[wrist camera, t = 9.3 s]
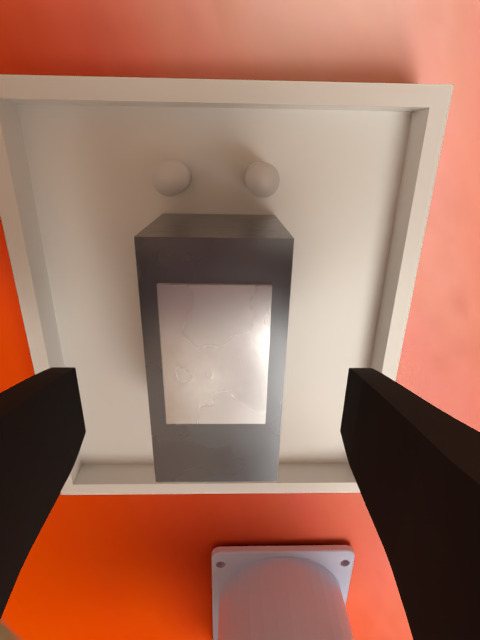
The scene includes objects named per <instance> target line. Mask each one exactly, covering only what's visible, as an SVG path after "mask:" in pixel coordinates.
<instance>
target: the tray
mask: <svg viewBox="0 0 480 640" xmlns="http://www.w3.org/2000/svg"><path fill="white" fill-rule="evenodd" d="M453 87H454V85H449V84H405V83H361V82H317V81H273V80H229V79H185V78H141V77H97V76H53V75H9V74H0V216H1V220H2V225H3V230H4V234H5V239H6V243H7V248H8V253H9V257H10V262H11V266H12V271H13V276H14V280H15V285H16V289H17V294H18V299H19V303H20V308H21V312H22V317H23V322H24V326H25V331H26V335H27V340H28V345H29V349H30V354H31V358H32V363H33V368H34V372H35V375H36V374H38V373H40V372H42V371H44V370H46V369H49V368H51V367H75V369H76V374H77V380H78V386H79V392H80V398H81V404H82V410H83V416H84V422H85V428H86V433H85V436H84V439H83V442H82V445H81V448H80V451H79V454H78V456H77V459H76V462H75V464H74V467H73V469H72V471H71V473H70V475H69V477H68V479H67V481H66V483H65V484H64V486H63V488H62V490H61V495H122V494H245V493H361V492H360V490H359V487H358V485H357V483H356V480H355V478H354V475H353V473H352V470H351V468H350V465H349V462H348V459H347V455H346V452H345V448H344V444H343V440H342V436H341V432H340V428H341V421H342V414H343V407H344V400H345V392H346V385H347V378H348V371H349V368H373V369H375V370H377V371H379V372H380V373H382V374H384V375H386V376H387V377H389V378H390V379H392V380H394V381H395V380H396V375H397V370H398V365H399V360H400V355H401V350H402V345H403V340H404V335H405V330H406V325H407V320H408V315H409V310H410V304H411V299H412V294H413V289H414V284H415V279H416V274H417V269H418V264H419V259H420V254H421V249H422V244H423V239H424V234H425V229H426V223H427V218H428V213H429V208H430V203H431V198H432V193H433V188H434V183H435V178H436V173H437V168H438V163H439V158H440V153H441V148H442V142H443V137H444V132H445V127H446V122H447V117H448V112H449V107H450V102H451V97H452V92H453ZM163 213H172V214H245V215H275V216H276V217H277V218H278V219H279V221H280V222H281V223H282V224H283V225H284V227H285V228H286V229H287V230H288V232H289V233H290V234H291V235H292V236H293V238H294V249H293V263H292V277H291V292H290V306H289V320H288V334H287V348H286V363H285V377H284V391H283V405H282V420H281V434H280V448H279V462H278V477H277V481H242V482H156V480H155V469H154V458H153V447H152V435H151V424H150V413H149V401H148V390H147V379H146V368H145V356H144V345H143V334H142V323H141V311H140V300H139V289H138V278H137V266H136V255H135V244H134V236H135V235H137V234H138V233H139V232H140V231H142V230H143V229H144V228H145V227H147V226H148V225H149V224H150V223H152V222H153V221H154V220H155V219H157V218H158V217H159V216H160V215H162V214H163Z"/></svg>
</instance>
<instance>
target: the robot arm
mask: <svg viewBox="0 0 480 640" xmlns="http://www.w3.org/2000/svg"><path fill="white" fill-rule="evenodd" d="M340 432H341V436H342V440H343V444H344V448H345V452H346V455H347V459H348V462H349V465H350V468H351V470H352V473H353V475H354V478H355V480H356V483H357V485H358V487H359V490H360V492H361V495H362V497H363V499H364V502H365V504H366V506H367V509H368V511H369V513H370V516H371V518H372V521H373V523H374V525H375V528H376V530H377V532H378V535H379V537H380V539H381V542H382V544H383V546H384V549H385V552H386V554H387V557H388V560H389V562H390V565H391V568H392V571H393V574H394V577H395V581H396V584H397V587H398V590H399V593H400V596H401V600H402V603H403V606H404V609H405V612H406V616H407V619H408V623H409V626H410V629H411V633H412V636H413V640H480V432H478V431H476V430H475V429H473V428H471V427H469V426H468V425H466V424H464V423H462V422H460V421H459V420H457V419H455V418H453V417H451V416H450V415H448V414H446V413H445V412H443V411H441V410H440V409H438V408H436V407H435V406H433V405H431V404H430V403H428V402H427V401H425V400H423V399H422V398H420V397H419V396H417V395H416V394H414V393H412V392H411V391H409V390H408V389H406V388H405V387H403V386H401V385H400V384H398V383H397V382H395V381H394V380H392V379H390V378H389V377H387V376H386V375H384V374H382V373H380V372H379V371H377V370H375V369H373V368H349V371H348V378H347V385H346V392H345V400H344V407H343V414H342V421H341V428H340ZM85 433H86V428H85V422H84V416H83V410H82V404H81V398H80V392H79V386H78V380H77V374H76V369H75V367H51V368H49V369H46V370H44V371H42V372H40V373H38V374H36V375H34V376H32V377H30V378H28V379H26V380H24V381H22V382H20V383H18V384H16V385H15V386H13V387H11V388H9V389H7V390H5V391H3V392H1V393H0V619H1V616H2V614H3V611H4V609H5V607H6V604H7V602H8V599H9V597H10V594H11V592H12V589H13V587H14V585H15V582H16V580H17V577H18V575H19V572H20V570H21V568H22V566H23V564H24V562H25V560H26V558H27V556H28V553H29V551H30V549H31V547H32V545H33V544H34V542H35V540H36V538H37V536H38V534H39V532H40V530H41V528H42V526H43V525H44V523H45V521H46V519H47V517H48V515H49V513H50V511H51V509H52V507H53V506H54V504H55V502H56V500H57V498H58V496H59V494H60V492H61V490H62V488H63V486H64V484H65V483H66V481H67V479H68V477H69V475H70V473H71V471H72V469H73V467H74V464H75V462H76V459H77V456H78V454H79V451H80V448H81V445H82V442H83V439H84V436H85ZM354 558H355V554H354V551H353V548H352V547H351V546H349V545H297V546H220V547H216V548H214V549H213V550H212V557H211V562H212V614H213V640H354V638H353V634H352V631H351V627H350V623H349V619H348V615H347V611H346V607H345V605H346V600H347V595H348V590H349V584H350V579H351V574H352V568H353V563H354Z"/></svg>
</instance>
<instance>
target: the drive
mask: <svg viewBox="0 0 480 640" xmlns="http://www.w3.org/2000/svg"><path fill="white" fill-rule="evenodd" d="M134 244H135V255H136V266H137V278H138V289H139V300H140V311H141V323H142V334H143V345H144V356H145V368H146V379H147V390H148V401H149V413H150V424H151V435H152V447H153V458H154V469H155V480H156V482H242V481H277V477H278V462H279V448H280V434H281V420H282V405H283V391H284V377H285V363H286V348H287V334H288V320H289V306H290V292H291V277H292V263H293V249H294V238H293V236H292V235H291V234H290V233H289V232H288V230H287V229H286V228H285V227H284V225H283V224H282V223H281V222H280V221H279V219H278V218H277V217H276V216H275V215H245V214H172V213H163V214H162V215H160V216H159V217H158V218H157V219H155V220H154V221H153V222H152V223H150V224H149V225H148V226H147V227H145V228H144V229H143V230H142V231H140V232H139V233H138V234H137V235H135V236H134Z"/></svg>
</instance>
